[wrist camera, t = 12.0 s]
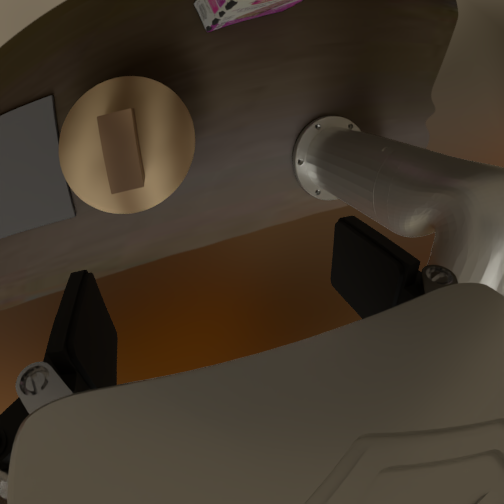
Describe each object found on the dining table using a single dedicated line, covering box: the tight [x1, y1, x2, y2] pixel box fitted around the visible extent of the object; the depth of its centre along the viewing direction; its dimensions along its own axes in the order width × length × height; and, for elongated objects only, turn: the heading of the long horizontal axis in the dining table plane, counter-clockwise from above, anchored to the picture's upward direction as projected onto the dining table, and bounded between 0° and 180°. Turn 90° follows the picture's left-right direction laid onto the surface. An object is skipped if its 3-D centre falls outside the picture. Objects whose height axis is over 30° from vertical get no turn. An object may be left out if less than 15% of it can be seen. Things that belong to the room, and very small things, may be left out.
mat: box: [0, 95, 76, 238], centre depth 27 cm, size 16×16×1 cm
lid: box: [59, 76, 195, 214], centre depth 24 cm, size 14×14×5 cm
